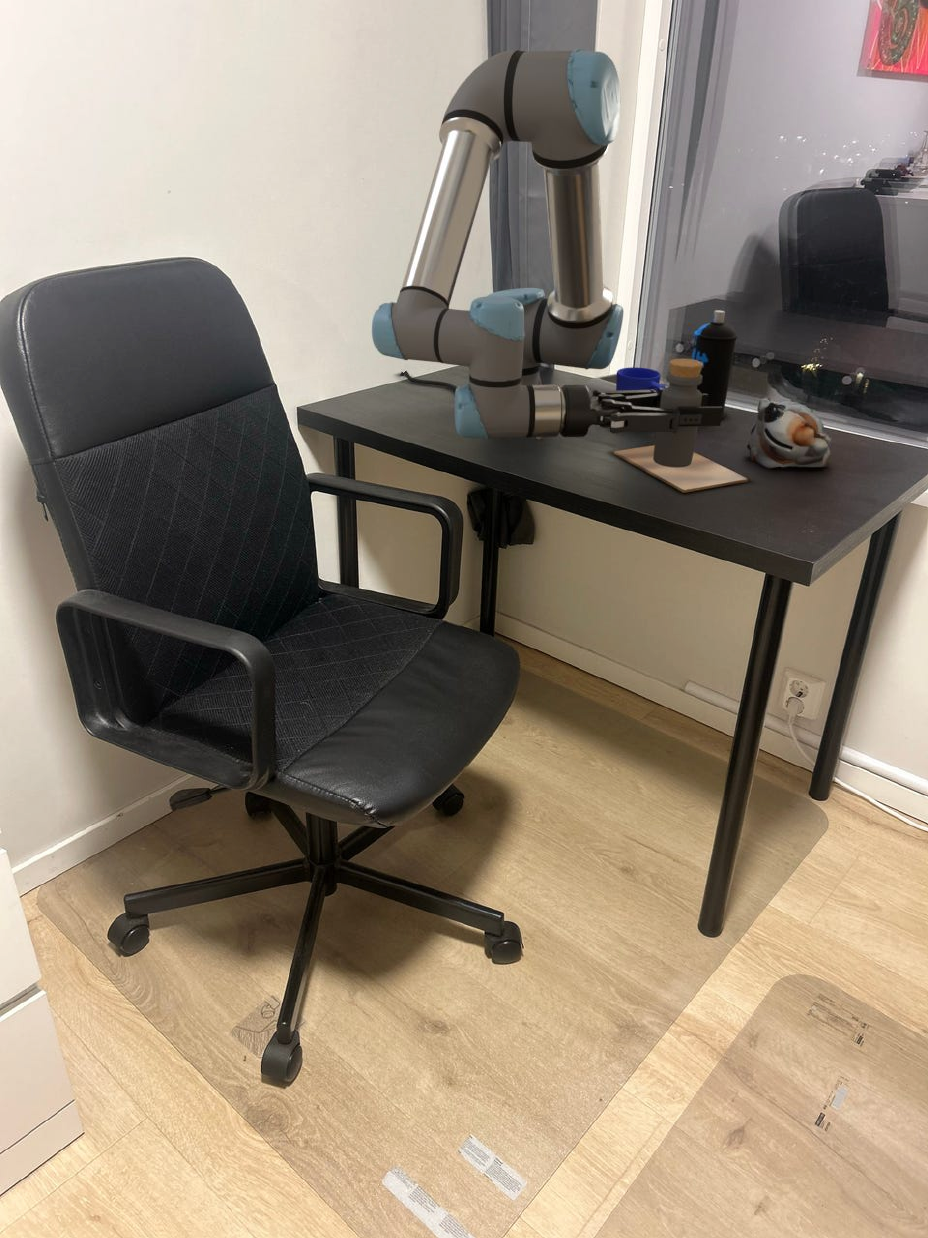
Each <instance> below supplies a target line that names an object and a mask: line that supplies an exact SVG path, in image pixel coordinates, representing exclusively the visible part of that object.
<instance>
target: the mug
mask: <svg viewBox="0 0 928 1238" xmlns="http://www.w3.org/2000/svg"><path fill="white" fill-rule="evenodd" d="M616 374H617V379H616V391H623V390H651V389H653V390H655V391H656V393H657V392H658V388H663V389H665V388H667V387H666V386H663V385H661V384H659V382H660V381H661V377H662V374H661V372H659V371H658V370H656V369H652V368H647V367H635V366H632V367H623V368H620V369H618V370H617V371H616Z"/></svg>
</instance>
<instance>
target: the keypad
mask: <svg viewBox="0 0 928 1238" xmlns="http://www.w3.org/2000/svg"><path fill="white" fill-rule="evenodd" d="M616 379H617V373H613V374H608V375H602V376H598V377H597V376H596V377H593V378H591V379H589V380H587V381H586V382H584V384H583V385H586V386H587V387H588V389H589V392H590V397H592V392H593V390H602V391H616ZM659 384H661V385H663V386H665V387H666V386H667V385H666V382H664V381H663V380H660V382H659Z"/></svg>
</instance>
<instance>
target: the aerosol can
mask: <svg viewBox="0 0 928 1238" xmlns="http://www.w3.org/2000/svg"><path fill="white" fill-rule="evenodd" d="M725 315H726V312H725V311H724V310H720V309H719V310H714V312H713V318H712V321H711V322H709V323H705V324H702V325H701V326H700V327H699V328H697V330H695V331H694V332H693V335H694V341H693V348H692V355H691V359H692V360H697V361H700V362H702V363H703V366H702V369H701V372H700V375H702V383H701V384H699V385H697V390H699V391H700V392H701V394H708V401H707V406H722V407H723V413H722V419H723V418H725V415H726V414H725V413H724V412H725V407H726V400H727V395H728V389H729V384H730V378H731V373H732V366H733V360H734V354H735V348H736V342H737V339H738V337H739V335H738V333H736V331H735V330H734V328H733V327H732V326H730V325H729V324H726V323H725V322H724V321H725Z"/></svg>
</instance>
